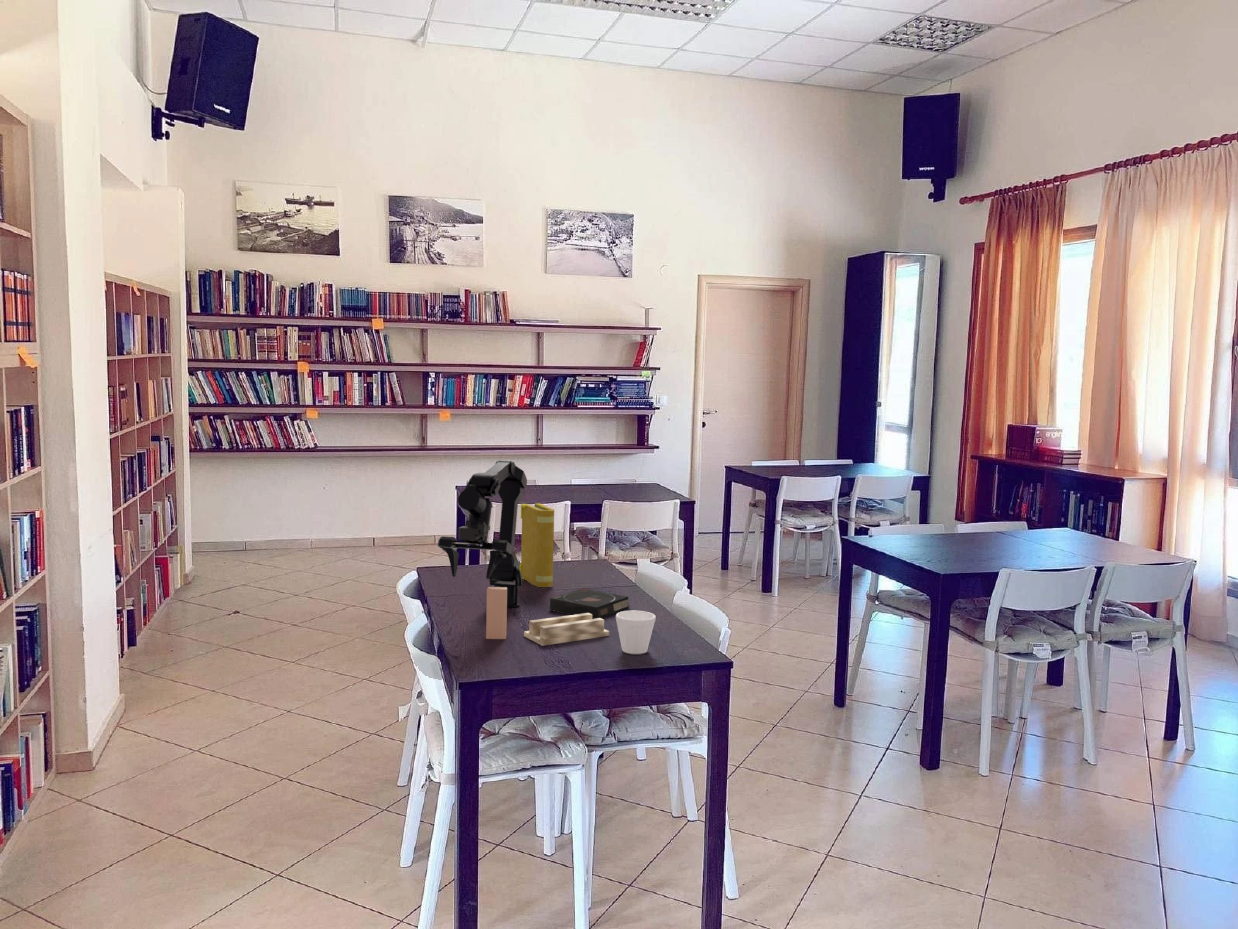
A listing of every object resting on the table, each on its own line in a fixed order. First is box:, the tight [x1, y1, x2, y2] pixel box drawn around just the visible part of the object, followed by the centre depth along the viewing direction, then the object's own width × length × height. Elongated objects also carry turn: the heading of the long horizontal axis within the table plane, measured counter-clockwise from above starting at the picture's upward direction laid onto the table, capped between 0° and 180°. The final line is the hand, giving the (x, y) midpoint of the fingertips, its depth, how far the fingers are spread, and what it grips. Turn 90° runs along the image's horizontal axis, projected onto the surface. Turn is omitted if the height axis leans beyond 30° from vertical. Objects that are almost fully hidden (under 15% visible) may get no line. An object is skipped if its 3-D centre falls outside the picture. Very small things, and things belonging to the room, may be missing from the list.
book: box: [519, 503, 555, 587], centre depth 304 cm, size 17×7×25 cm, turn 25°
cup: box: [615, 609, 657, 656], centre depth 231 cm, size 10×10×9 cm
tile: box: [485, 586, 508, 640], centre depth 240 cm, size 2×5×13 cm, turn 93°
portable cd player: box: [549, 587, 630, 619], centre depth 272 cm, size 16×17×4 cm
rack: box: [523, 613, 610, 647], centre depth 244 cm, size 20×10×4 cm, turn 123°
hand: (470, 577), depth 242 cm, fingers open, 9 cm apart
